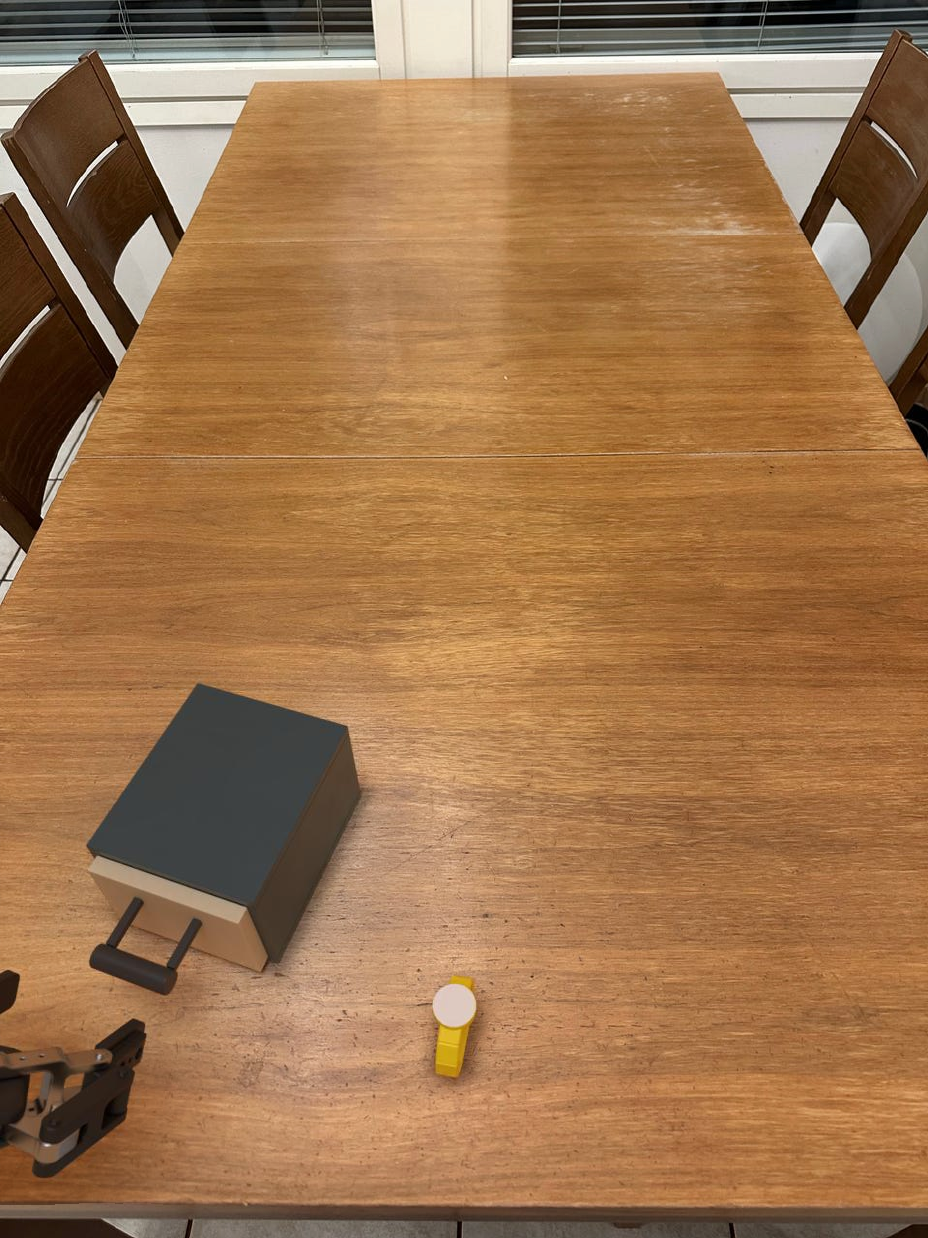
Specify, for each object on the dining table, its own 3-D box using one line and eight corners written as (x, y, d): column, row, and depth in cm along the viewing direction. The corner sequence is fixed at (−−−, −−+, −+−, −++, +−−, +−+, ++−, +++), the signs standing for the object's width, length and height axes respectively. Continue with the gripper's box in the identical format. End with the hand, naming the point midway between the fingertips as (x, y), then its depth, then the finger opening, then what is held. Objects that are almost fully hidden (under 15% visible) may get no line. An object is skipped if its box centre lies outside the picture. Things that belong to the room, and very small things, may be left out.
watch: (468, 1091, 61) (466, 1062, 57) (426, 1083, 62) (421, 1053, 57) (484, 999, 65) (484, 965, 61) (445, 992, 65) (442, 957, 61)
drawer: (225, 1043, 63) (197, 999, 57) (80, 986, 65) (40, 939, 60) (341, 811, 74) (328, 755, 68) (214, 771, 77) (191, 714, 71)
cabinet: (278, 964, 67) (252, 903, 60) (126, 909, 70) (85, 845, 63) (361, 795, 76) (348, 725, 69) (224, 753, 79) (197, 682, 72)
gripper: (-323, 1195, 41) (-37, 1029, 57) (-58, 1331, 38) (169, 1115, 53) (-296, 1033, 40) (-15, 911, 56) (-24, 1157, 37) (195, 990, 53)
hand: (74, 1010), depth 55 cm, fingers open, 8 cm apart
